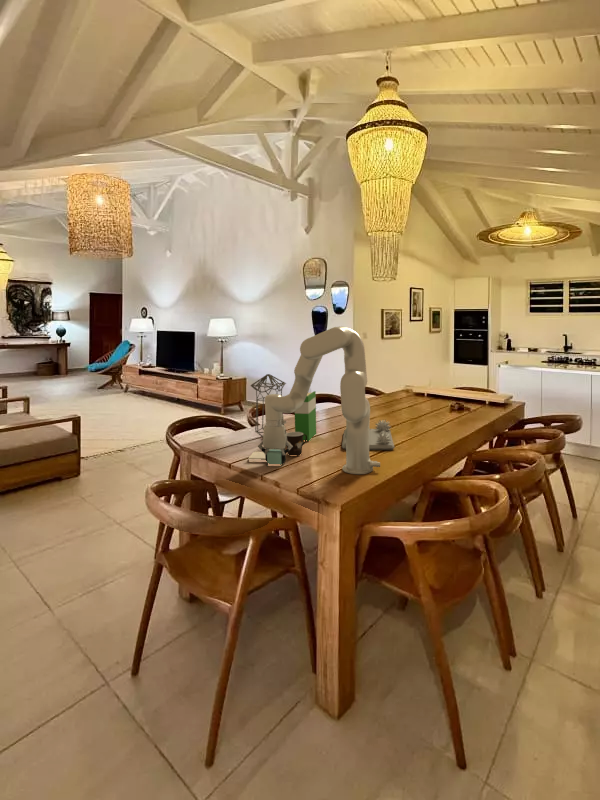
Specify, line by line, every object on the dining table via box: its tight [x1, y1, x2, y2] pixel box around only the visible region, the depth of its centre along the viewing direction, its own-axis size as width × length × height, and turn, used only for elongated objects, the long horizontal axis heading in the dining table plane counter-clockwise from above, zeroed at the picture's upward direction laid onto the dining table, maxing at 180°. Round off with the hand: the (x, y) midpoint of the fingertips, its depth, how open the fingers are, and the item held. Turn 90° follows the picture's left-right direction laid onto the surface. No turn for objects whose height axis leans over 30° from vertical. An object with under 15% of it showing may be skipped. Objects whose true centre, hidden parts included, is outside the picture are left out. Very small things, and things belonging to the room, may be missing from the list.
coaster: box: [248, 451, 266, 460], centre depth 207 cm, size 10×10×2 cm
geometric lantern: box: [250, 373, 287, 438], centre depth 242 cm, size 16×16×35 cm
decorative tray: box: [341, 419, 395, 451], centre depth 234 cm, size 35×26×10 cm
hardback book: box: [294, 390, 317, 441], centre depth 243 cm, size 18×7×24 cm, turn 166°
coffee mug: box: [286, 431, 307, 455], centre depth 213 cm, size 12×9×10 cm
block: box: [266, 449, 282, 465], centre depth 199 cm, size 6×6×6 cm
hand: (275, 462), depth 199 cm, fingers closed on block, 6 cm apart
